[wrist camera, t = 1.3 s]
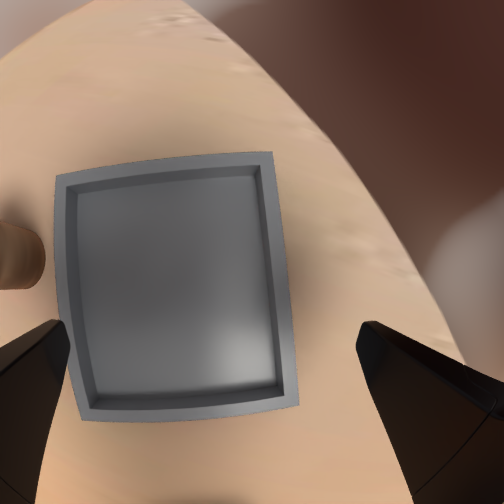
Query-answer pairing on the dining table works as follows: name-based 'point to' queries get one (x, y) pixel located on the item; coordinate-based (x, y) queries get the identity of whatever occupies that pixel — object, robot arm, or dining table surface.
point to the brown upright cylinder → (20, 257)
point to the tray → (175, 289)
